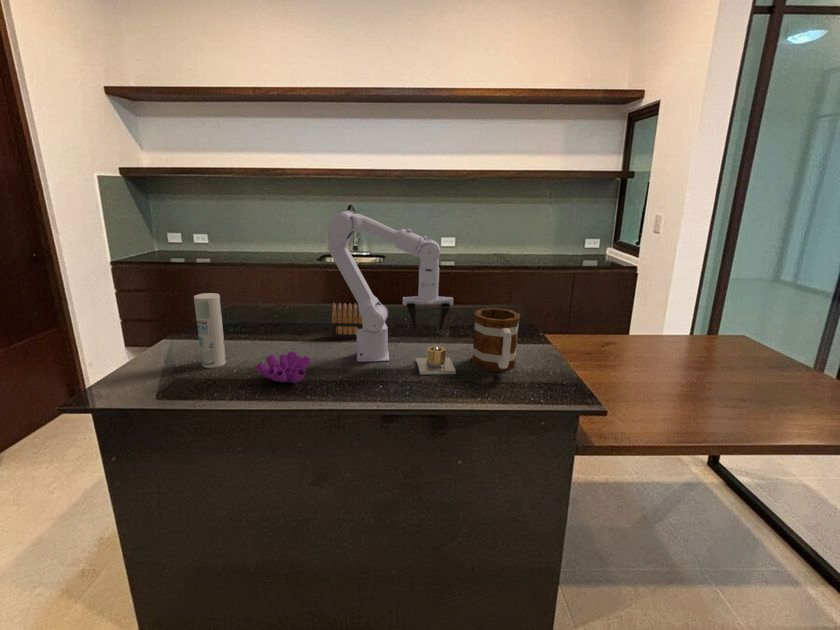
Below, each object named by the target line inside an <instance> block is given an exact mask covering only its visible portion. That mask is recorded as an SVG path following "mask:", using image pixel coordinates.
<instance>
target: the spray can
mask: <svg viewBox="0 0 840 630" xmlns="http://www.w3.org/2000/svg"><path fill="white" fill-rule="evenodd" d="M193 302H194V310H195V318H196V326H197V333H198V335H197V336H198V342H199V348H200V349H199V352H200V357H201V365H202V367H204V368H208V369H214V368H219V367H222V366H224V365H225V364H226V361H227V359H226V350H225V349H226V348H225V340H224V339H225V337H224V328H223V316H222V308H221V307H222V306H221V296H220V294H219V293H215V292H207V293H206V292H204V293H199V294H196V295H193Z"/></svg>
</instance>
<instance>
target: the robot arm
mask: <svg viewBox="0 0 840 630" xmlns="http://www.w3.org/2000/svg"><path fill="white" fill-rule="evenodd" d="M326 229H327V249H328V251H329V254H330V255H331V258H332V259H333V261H334V263H335V265H336V266H337V269H338V270H339V272H340V274H341V275H342V277H343V279H344V281H345V283H346V285H347V286H348V289H350V292H351V293H352V295H353V297H354V299H355V301H356V303H357V304H358V306H357V307H358V313H359V312H360V314H361V316H362V324H363V328H362V329H357V338H356V347H355V354H356V361H357V362H360V363H361V362H389V361H390V354H389V350H388V341H389V340H388V339H389V338H388V335H389V333H388V329H389V328H388V325H387V324H386V320H387V318H388V316H389V311H388V308H387V307H386V306H385V305H383V304H382V303H381V302H380V301H379V299H378V297H376V296H375V295H374V293H373V292H372V290H371V288H370V287H369V284H368V282H367V281H366V279H365V277H364V275H363V274H362V272H361V270H360V268H359V266H358V265H357V263H356V260H355V258H354V257H353V256H352V254H351V252H350V249H349V248H348V246H349V243H350V241H351V237H352V236H353V234H356V233H362V232H363V233H365V232H366V233H370V234H372V235H375V236H378V237H380V238H382V239H385V240H388V241H390V242H392V243H393V245H394V248H395V249H397V250H400V251H402V252H404V253H406V254H409V255H412V256H414V257H419V267H418V294H417V295H415V296H402V304H403V306H406V307H407V308H406V309H407V311H408V313H409V315H410V318H411V322H412V329H413V330H416V329H417V325H416V324H417V323H416V317H417V316H416V313H417V306H416V305H421V306H422V305H423V306H424V305H433V306H434V305H435V306H436V305H439V306H438V307H439V312H438V313H439V314H438V315H439V317H438V318H439V319H438V329H439V330H443V325H444V322H445V320H446V317H447V314H448V313H449V312H450V307H451V306H454V297H452V296H439V286H440V285H439V282H440V267H439V265H440V260H439V259H440V255H441V246H440V245H439V243H438V242H437V241H435V240H434V239H431V238H429V239H428V236H426V235H424V236H421V235H418V234H416V233H414V232H412V229H410V228H407V229H405V228H401V229H399V230H397V229H393V228H391V227H390V226H387V225H385V224H383V223H381V222H379V221H377V220H375V219H372V218H370V217H369V216H365V215H364V214H361V213H355V212H354V211H351V210H343V211H341V212H337V213H335V214H333V215H332V216H331V217H330V219H329V222H328V224H327V226H326Z"/></svg>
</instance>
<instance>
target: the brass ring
mask: <svg viewBox="0 0 840 630" xmlns="http://www.w3.org/2000/svg"><path fill="white" fill-rule="evenodd" d="M434 347H437V348H439V351H433V348H434ZM446 353H447V351H446V347H444V346H440V345H430V346H428V347H426V357H425V358H426V360H427V362H429V363H432V364H433V363H434V364H440V363H441V364H442V363H444V362H445V357H446Z"/></svg>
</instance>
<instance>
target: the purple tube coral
mask: <svg viewBox="0 0 840 630" xmlns="http://www.w3.org/2000/svg"><path fill="white" fill-rule="evenodd" d="M287 352H288V353H287V354H280V355H279V360H277V359H276V356H275V355H273V354H271V355H268V356H266V357H265V362H266V363H267V365H268V366H267V365H266V364H264V363H263V362H259V363H257V365H256V366H255V367H254V369H255V371H256V372H257V373H258V374H259V375H261V376H262V377H265V378H267V379H268V380H272V381H275V382H277V383H298V382H300V381H302V380H303V379H304V378H305V376H306V369H307V368H308V367H309V365H310V363H311V360H312V358H311V357H309V356H307V355H304V356H303V357H302V356H301V355H298V354H297V352H296V351H287Z"/></svg>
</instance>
